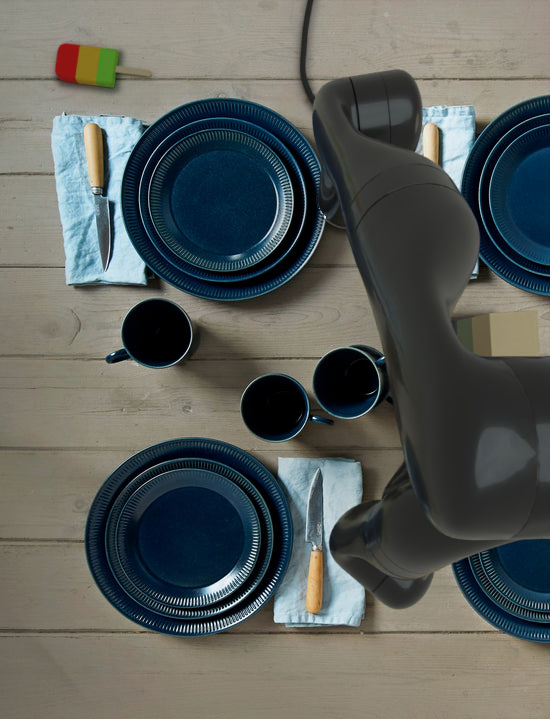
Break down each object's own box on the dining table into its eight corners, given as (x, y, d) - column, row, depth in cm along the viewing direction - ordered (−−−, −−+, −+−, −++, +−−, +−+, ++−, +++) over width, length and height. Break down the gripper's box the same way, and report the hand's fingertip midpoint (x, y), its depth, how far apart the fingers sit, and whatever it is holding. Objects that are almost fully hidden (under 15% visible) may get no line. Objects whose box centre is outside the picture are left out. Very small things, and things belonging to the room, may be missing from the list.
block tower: (443, 323, 87) (489, 313, 66) (480, 321, 86) (537, 310, 66) (445, 360, 87) (491, 360, 66) (482, 358, 86) (540, 357, 66)
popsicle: (62, 47, 89) (57, 40, 88) (155, 59, 89) (152, 52, 87) (57, 82, 90) (52, 76, 88) (150, 94, 89) (147, 88, 87)
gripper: (505, 498, 65) (540, 423, 76) (426, 402, 65) (473, 341, 76) (455, 514, 70) (495, 442, 81) (383, 425, 71) (432, 366, 82)
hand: (484, 393), depth 79 cm, fingers open, 8 cm apart
